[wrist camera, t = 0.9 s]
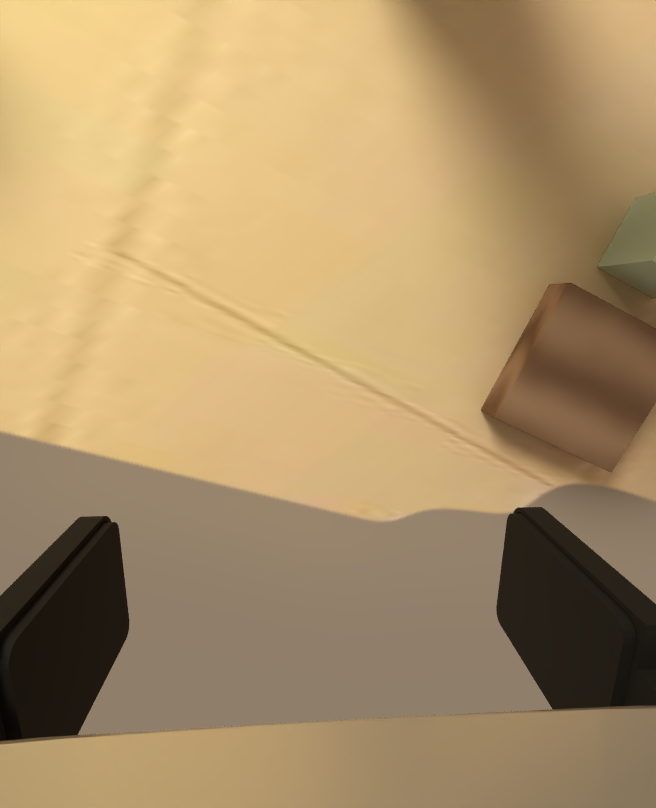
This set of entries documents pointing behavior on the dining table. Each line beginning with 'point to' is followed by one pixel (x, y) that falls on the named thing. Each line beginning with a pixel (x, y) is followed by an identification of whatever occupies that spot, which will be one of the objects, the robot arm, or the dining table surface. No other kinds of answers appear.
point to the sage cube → (635, 247)
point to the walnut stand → (579, 376)
